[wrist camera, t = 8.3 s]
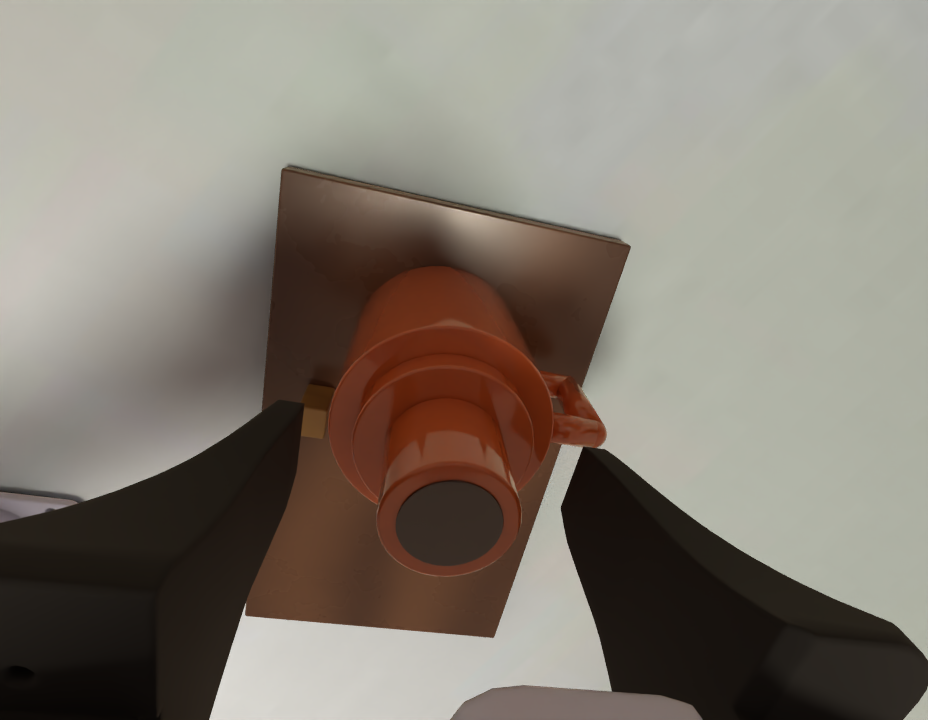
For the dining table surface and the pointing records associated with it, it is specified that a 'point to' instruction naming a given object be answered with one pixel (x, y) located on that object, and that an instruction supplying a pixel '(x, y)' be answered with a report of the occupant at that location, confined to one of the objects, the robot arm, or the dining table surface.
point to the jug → (448, 419)
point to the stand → (321, 359)
